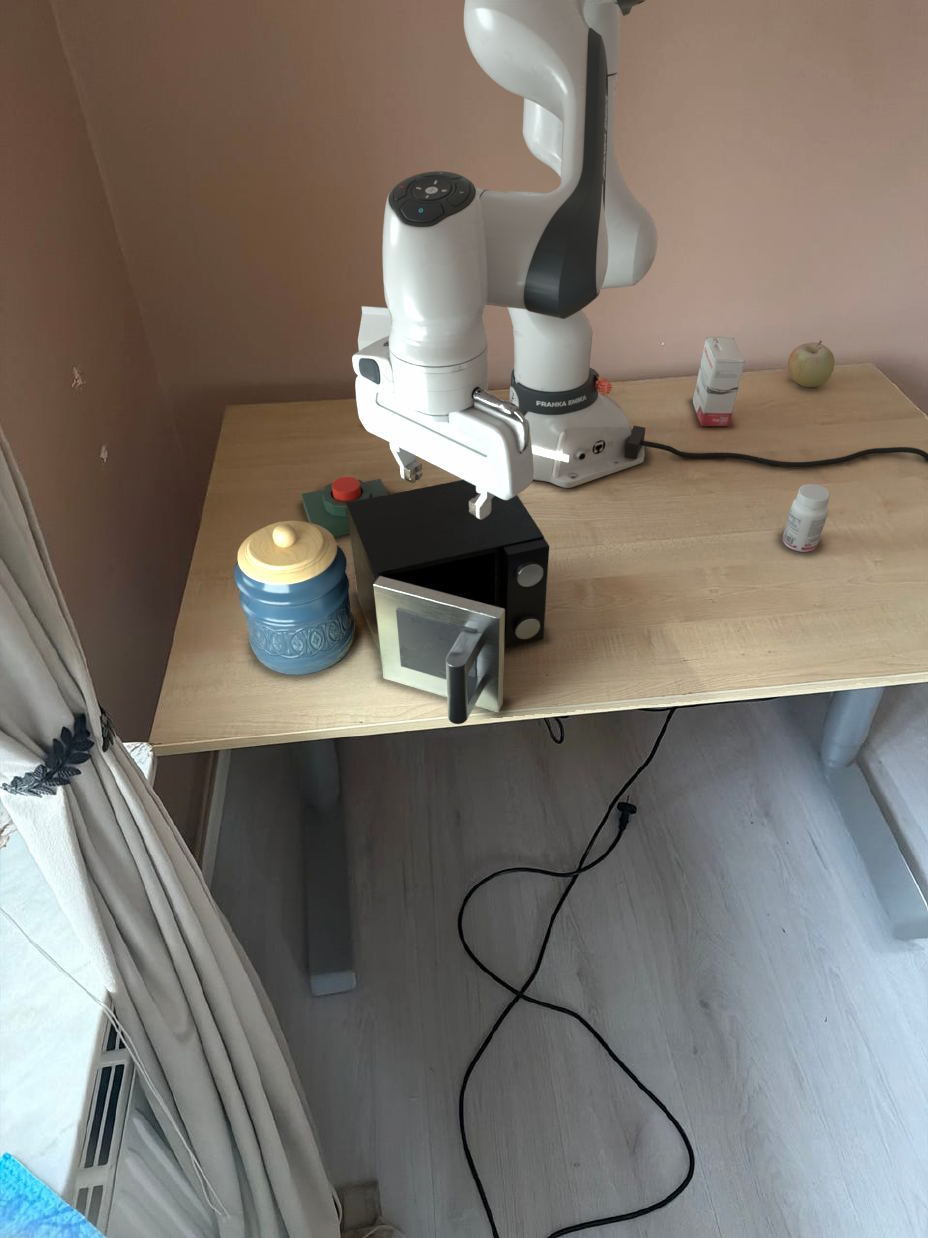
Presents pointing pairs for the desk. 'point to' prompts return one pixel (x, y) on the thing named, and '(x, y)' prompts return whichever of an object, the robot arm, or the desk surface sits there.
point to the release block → (336, 506)
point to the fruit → (811, 364)
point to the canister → (295, 597)
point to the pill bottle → (807, 518)
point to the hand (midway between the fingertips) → (445, 495)
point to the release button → (346, 489)
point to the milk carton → (373, 325)
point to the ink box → (718, 381)
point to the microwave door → (441, 645)
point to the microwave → (453, 553)
